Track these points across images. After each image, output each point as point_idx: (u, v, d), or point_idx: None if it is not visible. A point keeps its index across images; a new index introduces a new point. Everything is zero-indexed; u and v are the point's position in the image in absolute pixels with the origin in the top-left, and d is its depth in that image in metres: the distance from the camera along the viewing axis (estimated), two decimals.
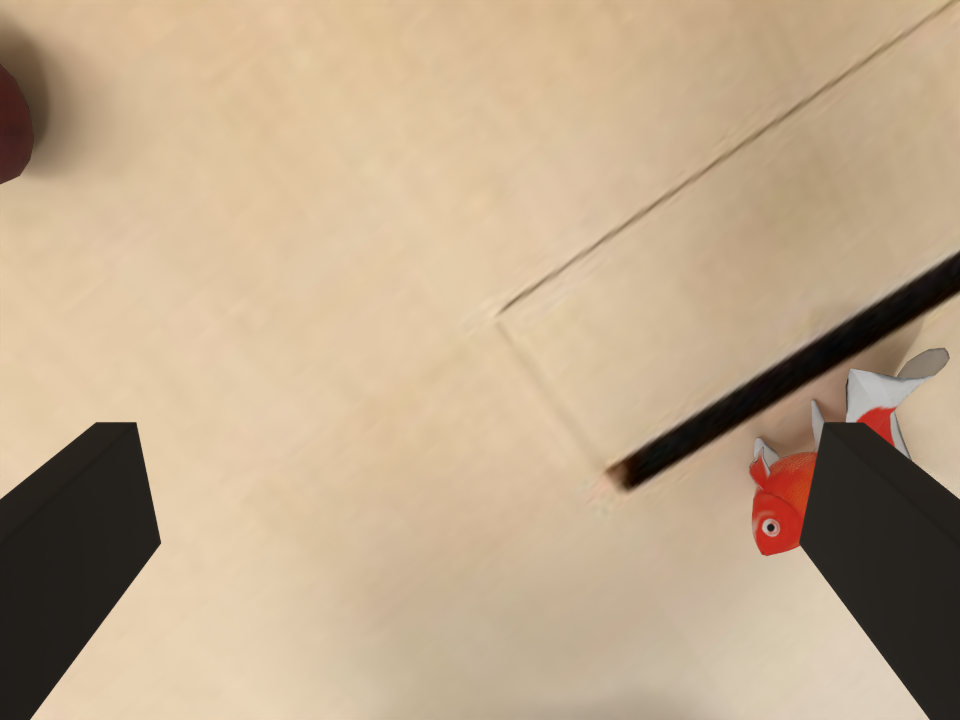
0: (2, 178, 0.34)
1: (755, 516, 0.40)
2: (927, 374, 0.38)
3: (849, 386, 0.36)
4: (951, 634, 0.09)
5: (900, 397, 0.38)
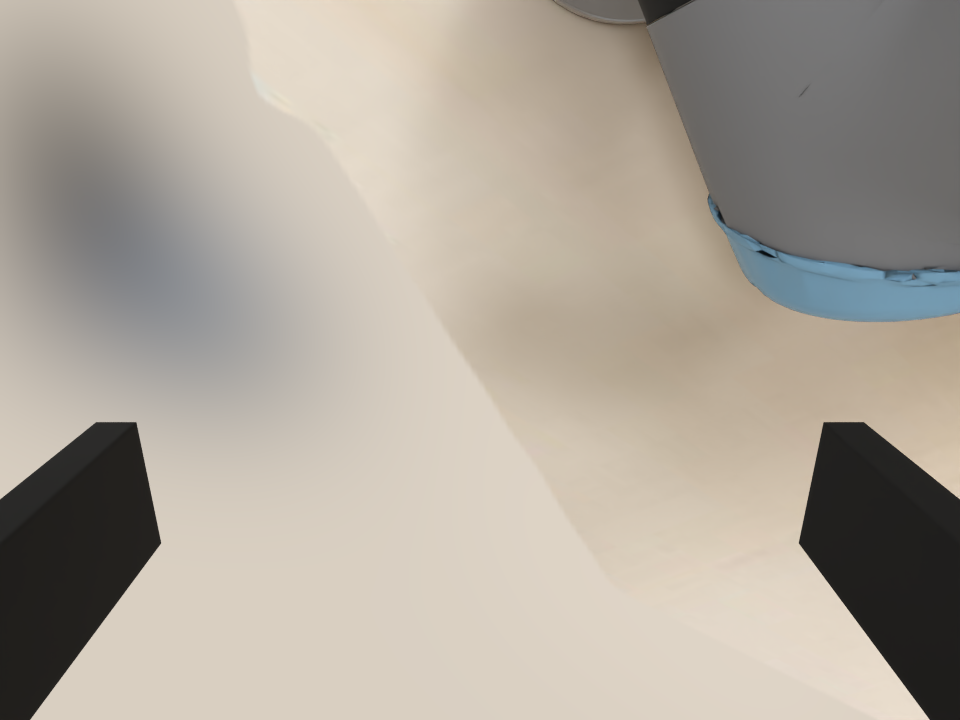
0: None
1: None
2: None
3: None
4: (951, 634, 0.09)
5: None
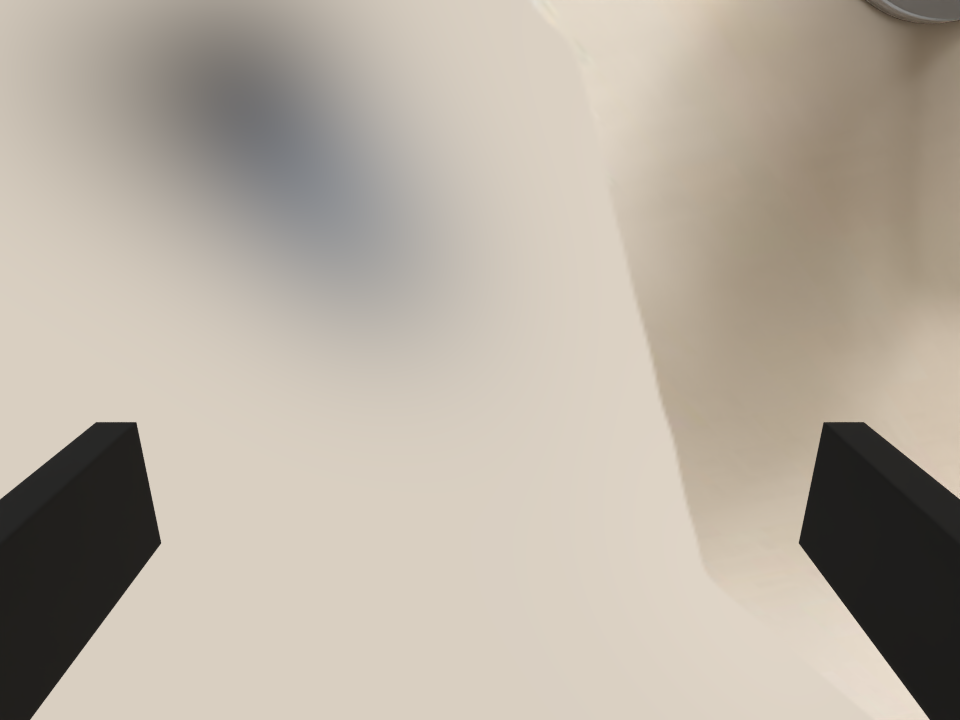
0: None
1: None
2: None
3: None
4: (951, 634, 0.09)
5: None
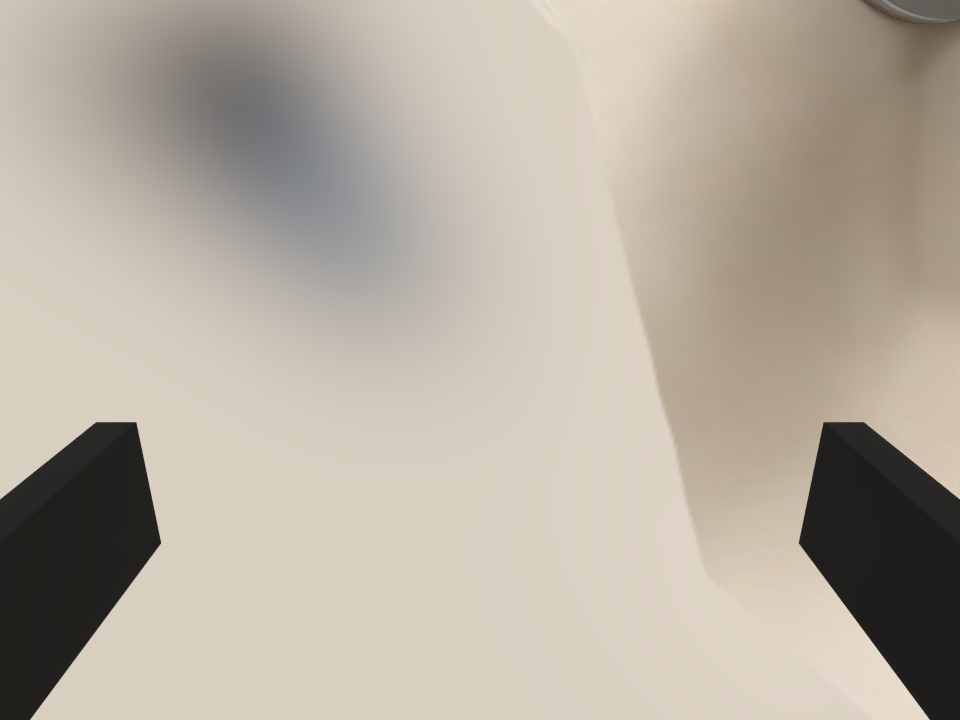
0: None
1: None
2: None
3: None
4: (951, 634, 0.09)
5: None
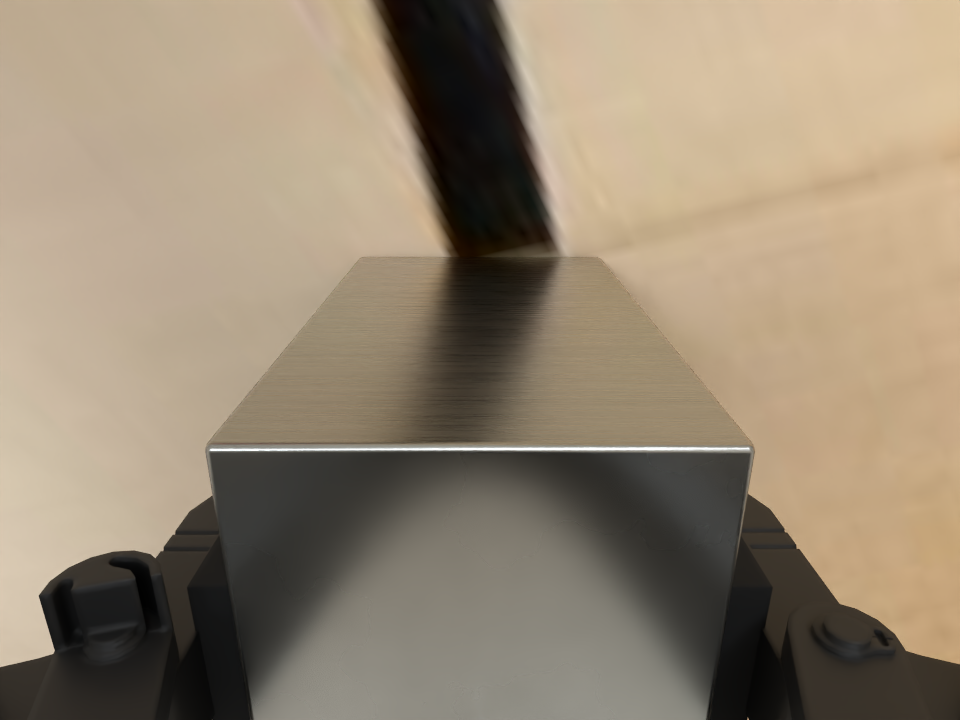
0: None
1: None
2: None
3: None
4: None
5: None
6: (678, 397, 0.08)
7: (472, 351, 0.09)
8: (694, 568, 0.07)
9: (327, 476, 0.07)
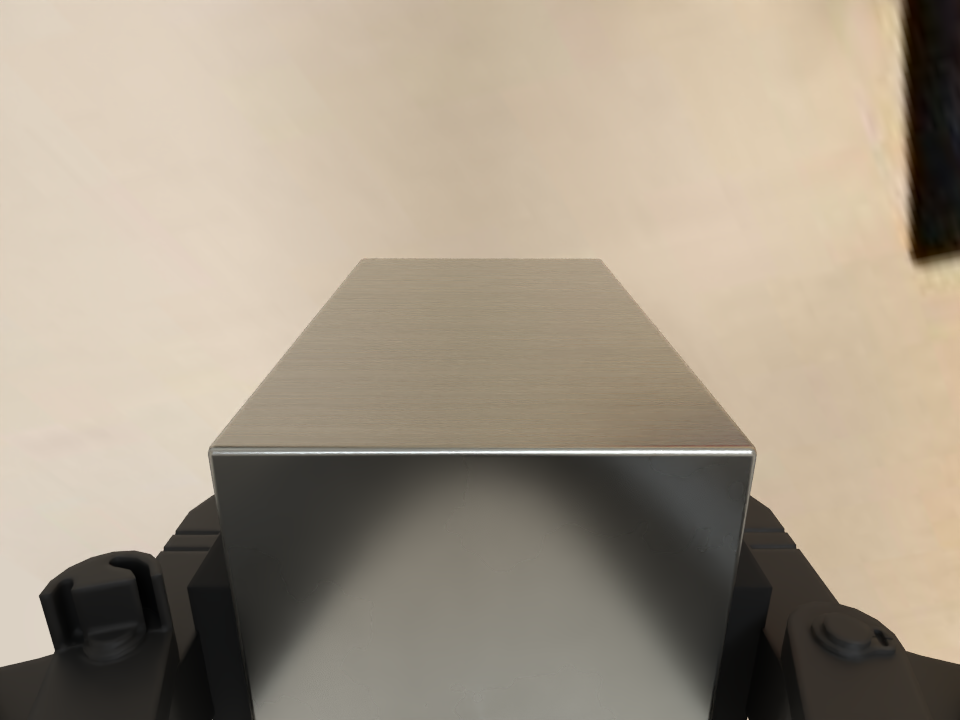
0: None
1: None
2: None
3: None
4: None
5: None
6: (680, 400, 0.08)
7: (474, 353, 0.09)
8: (696, 571, 0.07)
9: (330, 479, 0.07)
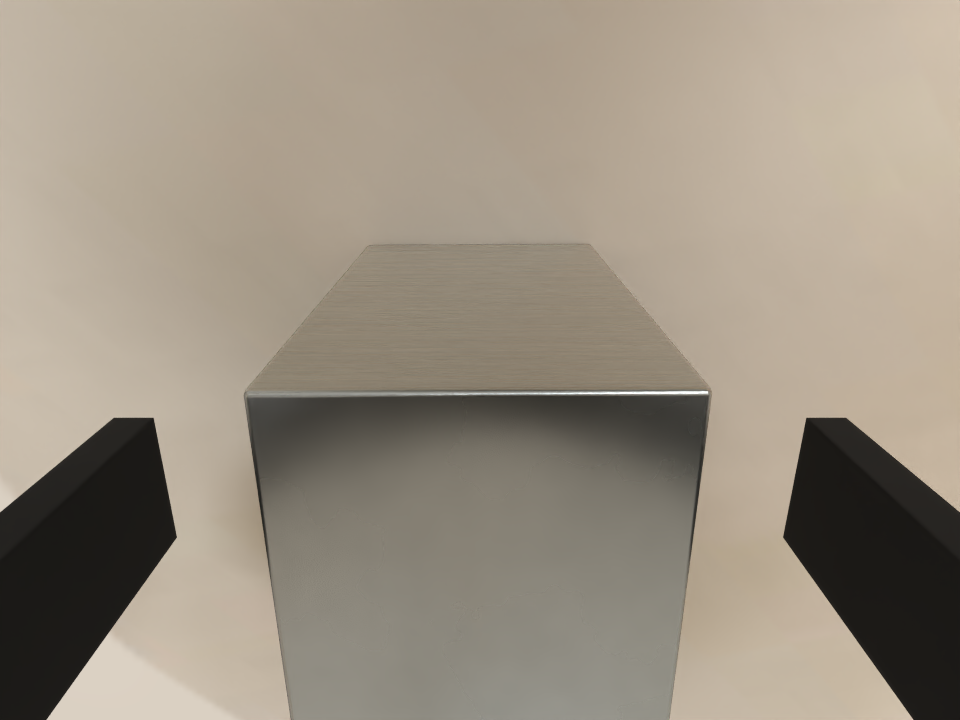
0: None
1: None
2: None
3: None
4: (924, 623, 0.09)
5: None
6: (650, 354, 0.09)
7: (471, 320, 0.10)
8: (663, 498, 0.08)
9: (347, 417, 0.08)
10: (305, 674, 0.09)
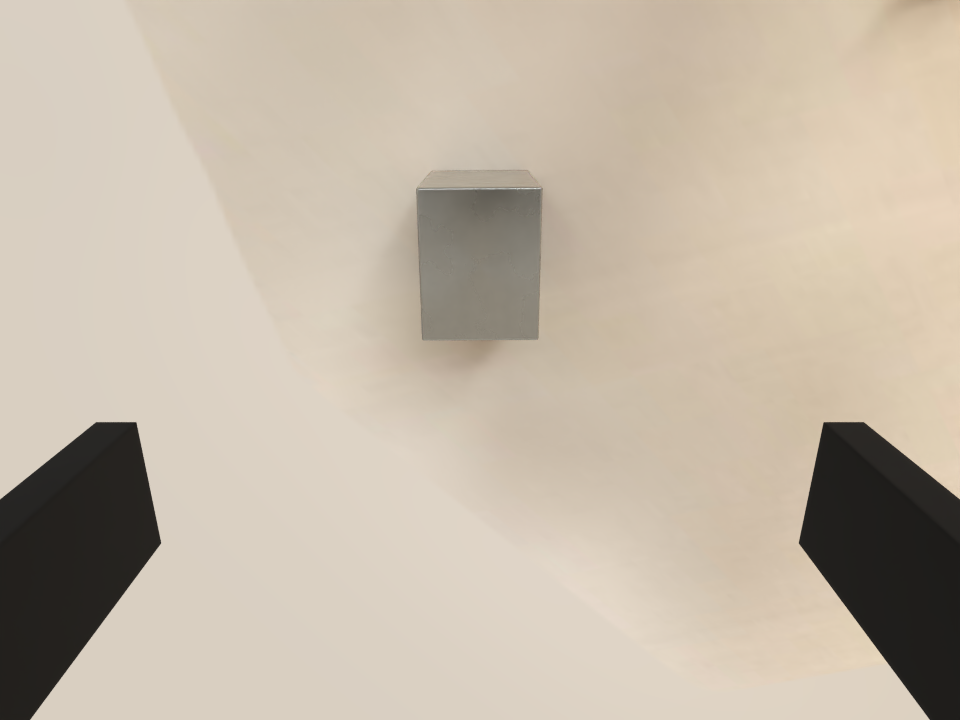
0: None
1: None
2: None
3: None
4: (951, 633, 0.09)
5: None
6: (529, 184, 0.30)
7: (477, 181, 0.32)
8: (531, 221, 0.30)
9: (444, 195, 0.29)
10: (426, 283, 0.31)
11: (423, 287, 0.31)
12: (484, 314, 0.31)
